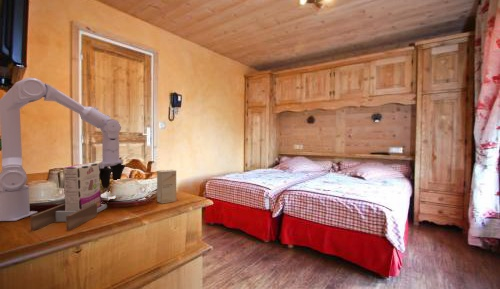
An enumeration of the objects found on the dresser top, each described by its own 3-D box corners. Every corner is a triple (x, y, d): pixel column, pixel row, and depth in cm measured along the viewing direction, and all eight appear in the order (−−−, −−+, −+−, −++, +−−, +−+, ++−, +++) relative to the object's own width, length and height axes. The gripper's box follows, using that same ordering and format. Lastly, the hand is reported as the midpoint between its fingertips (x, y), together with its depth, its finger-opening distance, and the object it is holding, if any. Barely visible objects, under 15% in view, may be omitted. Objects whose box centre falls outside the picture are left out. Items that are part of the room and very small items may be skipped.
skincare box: (161, 204, 91) (160, 172, 90) (156, 201, 94) (156, 170, 94) (177, 201, 95) (176, 170, 95) (172, 198, 98) (171, 169, 98)
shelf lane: (30, 230, 66) (30, 216, 66) (63, 216, 77) (63, 203, 77) (70, 230, 66) (69, 216, 66) (97, 215, 78) (96, 203, 77)
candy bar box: (86, 209, 84) (85, 162, 83) (101, 209, 84) (100, 162, 84) (63, 221, 73) (62, 167, 72) (80, 221, 73) (79, 167, 72)
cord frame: (55, 221, 72) (55, 204, 72) (104, 199, 97) (104, 186, 97) (80, 221, 72) (80, 204, 72) (123, 199, 97) (123, 186, 97)
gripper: (110, 151, 87) (111, 188, 88) (130, 148, 102) (130, 180, 102) (91, 151, 87) (91, 188, 88) (113, 148, 102) (113, 180, 102)
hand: (111, 184), depth 95 cm, fingers open, 7 cm apart
